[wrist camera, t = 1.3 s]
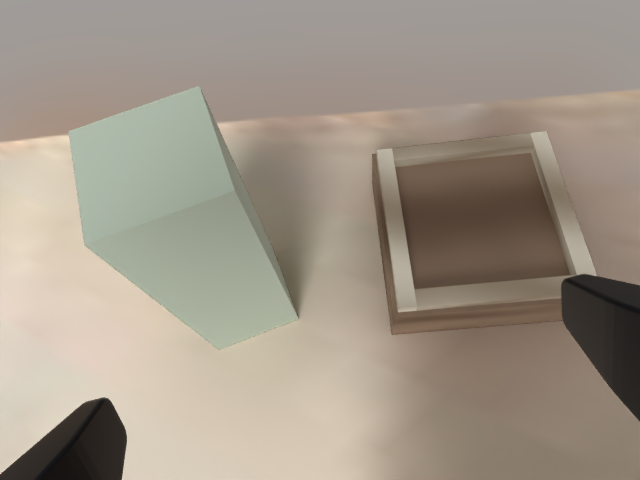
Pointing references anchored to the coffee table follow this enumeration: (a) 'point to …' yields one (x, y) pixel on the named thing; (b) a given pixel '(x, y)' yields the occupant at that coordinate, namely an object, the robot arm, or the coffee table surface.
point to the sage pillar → (179, 218)
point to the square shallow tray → (475, 233)
